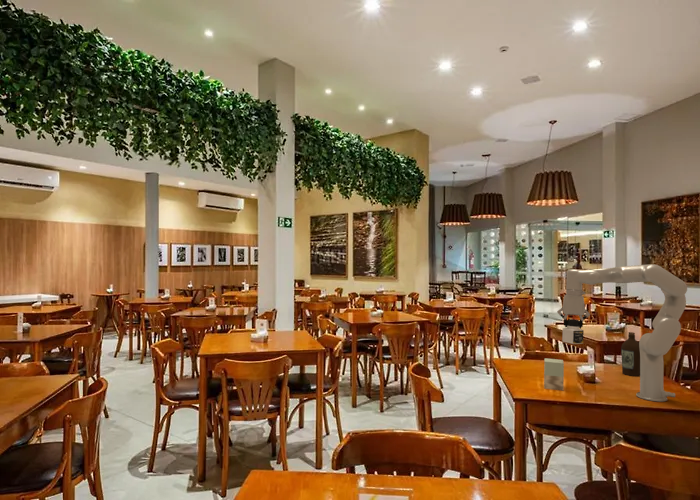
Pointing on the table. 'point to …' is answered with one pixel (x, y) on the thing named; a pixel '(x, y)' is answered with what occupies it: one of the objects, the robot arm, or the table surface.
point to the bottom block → (553, 382)
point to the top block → (553, 367)
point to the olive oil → (630, 356)
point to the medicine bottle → (573, 332)
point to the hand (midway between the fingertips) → (573, 327)
